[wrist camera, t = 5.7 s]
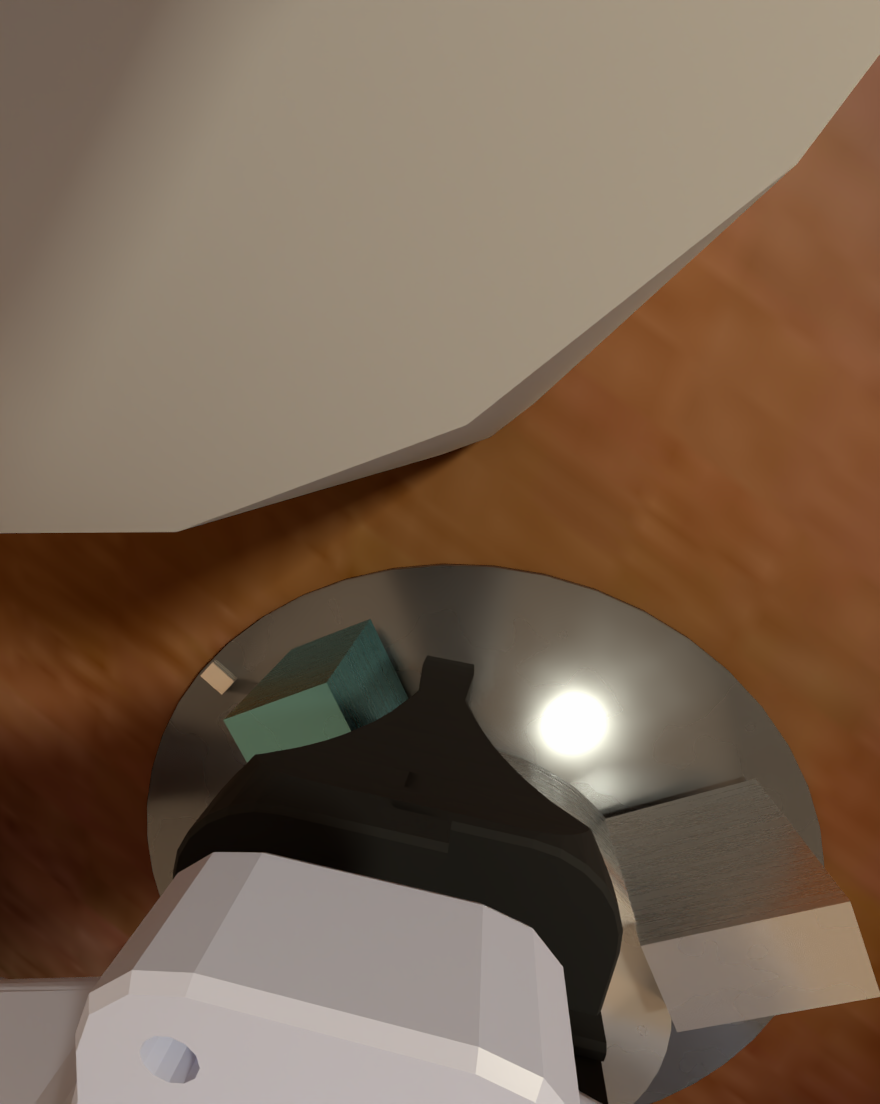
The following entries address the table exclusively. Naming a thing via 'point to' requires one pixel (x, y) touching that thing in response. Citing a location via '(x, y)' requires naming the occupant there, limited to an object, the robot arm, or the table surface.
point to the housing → (516, 713)
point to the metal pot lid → (631, 874)
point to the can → (354, 223)
